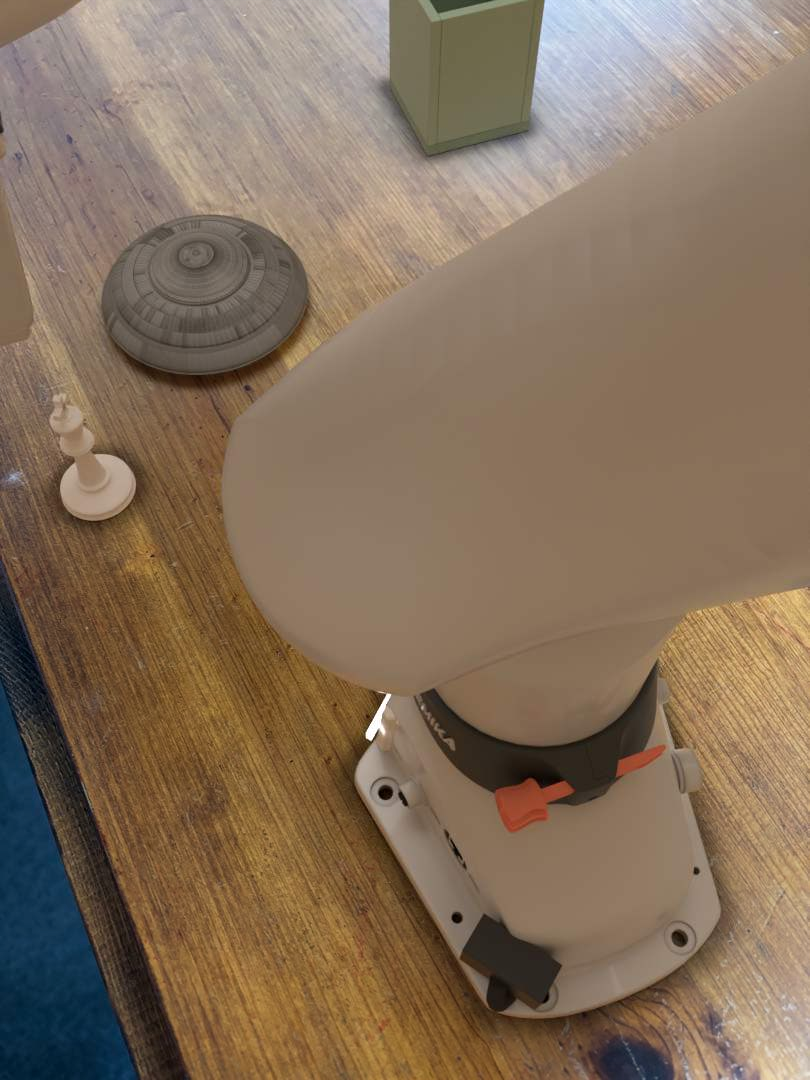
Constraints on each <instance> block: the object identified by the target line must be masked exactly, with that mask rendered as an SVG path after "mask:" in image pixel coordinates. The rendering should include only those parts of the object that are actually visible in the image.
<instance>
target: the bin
mask: <svg viewBox="0 0 810 1080" xmlns="http://www.w3.org/2000/svg"><path fill="white" fill-rule="evenodd" d="M545 2H546V0H388V13H389V14H388V21H389V22H388V23H389V24H388V28H389V30H388V32H389V33H388V37H389V39H388V42H389V44H388V45H389V89H390V91H391V93H392V95H393V96H394V98H395V100H396V102H397V104H398V105H399V107H400V109H401V111H402V113H403V114H404V116H405V118H406V121H407V123H408V124H409V126H410V128H411V130H412V131H413V133H414V135H415V136H416V139H417V140H418V141H419V143H420V145H421V147H422V150H423V151H424V152H425V154H426V156H427V157H431V156H433V155H438V154H443V153H445V152H446V153H447V152H450V151H454V150H457V149H462V148H465V147H469V146H472V145H476V144H481V143H485V142H489V141H493V140H496V139H501V138H503V137H509V136H512V135H515V134H516V135H517V134H519V133H524V132H527V131H529V128H530V127H529V126H530V119H531V110H532V104H533V103H532V102H533V94H534V86H535V79H536V71H537V64H538V55H539V49H540V41H541V40H540V39H541V32H542V25H543V17H544V9H545Z"/></svg>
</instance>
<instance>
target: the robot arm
mask: <svg viewBox="0 0 810 1080" xmlns="http://www.w3.org/2000/svg"><path fill="white" fill-rule="evenodd" d="M82 1H83V0H0V49H2V48H4V47H6V46H7V45H10V44H12V43H14V42H15V41H17V40H19V39H22V38H24V37H25V36H27V35H29V34H31V33H32V32H35V31H36V30H38V29H39V28H41V27H44V26H46V25H47V24H49V23H51V22H53V21H55V20H56V19H58V18H59V17H61V16H63V15H65V14H66V13H67V12H69V11H71V10H72V9H73V8H74V7H76V6H78V4H79V3H81V2H82ZM4 132H5V130H4V124H3V119H2V112H1V111H0V160H2V159H4V158H5V156H6V154H7V153H6V152H7V147H6V143H5V139H4V135H3V133H4ZM31 297H32V296H31V292H30V288H29V284H28V281H27V277H26V273H25V269H24V265H23V261H22V257H21V253H20V250H19V245H18V243H17V239H16V235H15V230H14V227H13V223H12V219H11V215H10V211H9V208H8V202H7V198H6V194H5V189H4V184H3V179H2V174H1V173H0V346H7V345H11V344H14V343H19V342H22V341H25V340H27V339H28V338H29V337H30V336H31V328H30V327H31V326H32V325H33V324H34V318H35V316H34V315H35V314H34V312H35V311H34V307H33V306H34V305H33V302H32V298H31ZM231 425H232V426H231V428H230V432H229V436H228V440H227V443H226V447H225V452H224V459H223V463H222V465H223V466H222V472H221V473H222V474H221V494H220V495H221V496H220V497H221V507H222V519H223V526H224V530H225V535H226V540H227V546H228V548H229V553H230V554H231V557H232V560H233V563H234V566H235V569H236V572H237V574H238V575H239V578H240V580H241V582H242V584H243V587H244V588H245V590H246V591H247V594H248V595H249V597H250V599H251V600H252V602H253V603H254V605H255V607H256V608H257V610H258V611H259V612H260V614H261V615H262V616H263V617H264V619H265V621H266V622H267V623H268V624H269V626H271V628H272V629H273V630H274V631H275V633H277V634H278V635H279V636H280V637H281V638H282V639H283V640H284V641H285V642H286V643H287V644H288V645H289V646H290V647H291V648H292V649H293V650H295V651H296V652H297V653H299V654H300V655H301V656H302V657H304V658H305V659H306V660H308V661H309V662H310V663H312V664H313V665H315V666H316V667H317V668H320V669H322V670H323V671H325V672H327V673H329V674H330V675H332V676H334V677H336V678H338V679H340V680H343V681H345V682H347V683H349V684H351V685H354V686H357V687H360V688H363V689H366V690H370V691H372V692H373V691H374V692H377V693H381V694H385V695H386V696H385V698H384V699H383V701H382V703H381V705H380V707H379V709H378V710H377V712H376V714H375V716H374V718H373V719H372V722H371V723H370V725H369V727H368V729H367V730H366V732H365V738H366V739H368V740H369V741H372V740H373V738H374V737H375V734H376V733H377V735H376V737H375V738H374V740H373V742H372V743H371V744H370V745H369V746H368V748H367V749H366V751H364V753H363V755H362V757H361V758H360V759H359V761H358V763H357V766H356V768H355V771H354V777H353V783H354V787H355V789H356V792H357V794H358V795H359V797H360V799H361V800H362V802H363V804H364V805H365V807H366V809H367V810H368V812H369V814H370V816H371V817H372V820H374V822H375V825H376V826H377V828H378V829H379V831H380V833H381V834H382V836H383V837H384V839H385V841H386V843H387V844H388V846H389V848H390V849H391V851H392V853H393V855H394V856H395V858H396V860H397V861H398V863H399V865H400V866H401V867H402V870H403V871H404V873H405V875H406V877H407V878H408V880H409V881H410V883H411V885H412V887H413V888H414V890H415V892H416V893H417V895H418V897H419V898H420V900H421V902H422V903H423V905H424V907H425V909H426V910H427V912H428V913H429V915H430V917H431V919H432V921H433V922H434V924H435V926H436V927H437V929H438V930H439V933H440V934H441V936H442V938H443V939H444V941H445V942H446V944H447V946H448V948H449V949H450V951H451V953H452V954H453V956H454V958H455V959H456V961H457V962H458V965H459V966H460V968H461V970H462V972H464V974H465V976H466V978H467V980H468V982H469V983H470V985H471V986H472V988H473V989H474V991H475V993H476V994H477V997H478V998H479V999H480V1000H481V1001H482V1003H483V1005H484V1006H485V1007H486V1008H487V1009H488V1010H490V1011H491V1012H493V1013H497V1014H501V1015H504V1016H509V1017H513V1018H519V1019H532V1020H537V1019H538V1020H539V1019H555V1018H562V1017H568V1016H573V1015H577V1014H581V1013H584V1012H589V1011H592V1010H595V1009H598V1008H601V1007H604V1006H607V1005H610V1004H612V1003H615V1002H617V1001H620V1000H623V999H626V998H628V997H629V996H632V995H634V994H636V993H638V992H641V991H642V990H645V989H646V988H649V987H651V986H652V985H654V984H656V983H657V982H659V981H661V980H663V979H665V978H666V977H668V976H669V975H671V974H672V973H674V972H675V971H676V970H677V969H679V968H680V967H682V966H683V965H684V964H685V963H687V961H689V960H690V959H691V958H692V957H693V956H694V955H695V954H697V952H698V951H699V950H700V948H702V946H703V945H704V944H705V942H706V941H707V940H708V938H709V937H710V936H711V934H712V933H713V931H714V929H715V927H716V926H717V924H718V922H719V920H720V918H721V913H722V907H721V903H720V899H719V894H718V891H717V886H716V883H715V880H714V878H713V874H712V870H711V867H710V863H709V860H708V856H707V854H706V850H705V847H704V846H705V845H704V843H703V839H702V836H701V833H700V829H699V826H698V823H697V819H696V816H695V811H694V809H693V805H692V801H691V797H690V795H689V793H694V792H698V791H699V790H700V789H702V788H703V783H704V777H703V771H702V766H701V762H700V760H699V757H698V755H697V753H696V752H695V751H694V749H692V748H689V747H682V748H676V746H675V744H674V740H673V736H672V734H671V729H670V726H669V722H668V719H667V716H666V713H665V709H664V706H663V705H665V704H668V703H669V702H670V701H671V690H670V685H669V683H668V681H667V680H666V679H665V677H660V673H661V672H660V666H661V665H660V656H661V654H662V652H663V650H664V648H665V646H666V645H667V643H668V641H669V639H670V638H671V636H672V635H673V633H674V632H675V630H676V629H677V627H678V626H679V624H680V623H682V621H683V619H684V618H685V617H686V616H687V615H688V614H690V613H694V612H700V611H703V610H708V609H713V608H718V607H722V606H726V605H732V604H735V603H741V602H745V601H749V600H755V599H758V598H763V597H766V596H772V595H777V594H783V593H787V592H792V591H797V590H802V589H806V588H807V589H808V588H810V48H808V49H806V50H805V51H802V53H800V54H798V55H796V56H794V57H793V58H791V59H790V60H788V61H787V62H785V63H784V64H782V65H780V66H778V67H777V68H775V69H774V70H772V71H770V72H768V73H766V74H765V75H763V76H762V77H760V78H758V79H757V80H755V81H753V82H752V83H750V84H748V85H746V86H744V87H743V88H741V89H739V90H738V91H736V92H734V93H733V94H731V95H729V96H727V97H725V98H724V99H722V100H720V101H719V102H717V103H715V104H714V105H712V106H710V107H708V108H707V109H705V110H703V111H701V112H700V113H698V114H696V115H694V116H693V117H691V118H690V119H688V120H686V121H684V122H683V123H681V124H679V125H678V126H675V127H674V128H673V129H671V130H669V131H668V132H666V133H664V134H662V135H660V136H659V137H657V138H656V139H654V140H652V141H650V142H649V143H647V144H645V145H643V146H641V147H640V148H639V149H637V150H635V151H633V152H632V153H630V154H628V155H627V156H624V157H623V158H621V159H620V160H618V161H616V162H615V163H612V164H611V165H609V166H607V167H605V168H604V169H602V170H600V171H598V172H596V174H594V175H592V176H590V177H589V178H586V179H585V180H583V181H582V182H580V183H579V184H576V185H574V186H573V187H572V188H570V189H569V190H567V191H564V192H563V193H561V194H559V195H558V196H555V198H552V199H550V200H549V201H547V202H546V203H544V204H543V205H540V206H539V207H537V208H536V209H534V210H532V211H531V212H529V213H527V214H526V215H524V216H522V217H520V218H519V219H516V220H515V221H514V222H512V223H510V224H508V225H506V226H505V227H504V228H501V229H500V230H499V231H496V232H494V233H493V234H491V235H490V236H488V237H487V238H485V239H483V240H481V241H480V242H477V243H476V244H475V245H473V246H471V247H469V248H468V249H466V250H464V251H462V252H460V253H459V254H457V255H456V256H454V257H452V258H451V259H449V260H447V261H445V262H444V263H441V264H440V265H439V266H437V267H435V268H434V269H432V270H430V271H428V272H427V273H424V274H423V275H422V276H420V277H418V278H416V279H414V280H413V281H411V282H410V283H408V284H406V285H404V286H403V287H401V288H400V289H397V290H396V291H394V292H392V293H390V294H389V295H388V296H386V297H384V298H383V299H381V300H379V301H378V302H376V303H374V304H373V305H371V306H370V307H368V308H366V309H365V310H363V311H361V312H360V313H359V314H357V315H356V316H355V317H354V318H353V319H351V320H350V321H349V322H347V323H346V324H345V325H343V326H342V327H341V328H340V329H338V330H337V331H335V333H333V334H332V335H331V336H329V337H328V338H326V339H325V340H324V341H323V342H322V343H320V344H319V345H318V346H317V347H316V348H314V349H313V350H312V351H311V352H309V354H307V355H306V356H305V357H304V358H302V359H301V360H300V361H299V362H297V363H296V364H295V365H294V366H293V367H291V369H289V370H288V371H287V372H286V373H284V375H283V376H281V377H280V378H279V379H278V380H276V382H274V384H272V385H271V386H270V387H269V388H268V389H266V390H265V392H263V393H262V394H261V395H259V396H258V398H257V399H255V400H254V401H253V402H252V403H251V404H250V405H249V406H248V407H246V409H244V410H243V411H242V412H241V413H240V414H239V415H238V416H237V417H236V418H235V420H234V421H233V423H232V424H231ZM385 789H387V790H390V791H391V793H392V796H391V797H390V798H389V799H382V798H381V797H380V795H379V793H380V792H381V791H382V790H385ZM454 916H459V918H461V922H458V923H456V922H454V920H453V917H454ZM673 933H679V934H680V935H681V936H682V937H683V939H684V945H683V946H678V945H676V944H675V943H674V941H673V938H672V937H673ZM546 997H547V1000H546V1002H544V1001H545V999H546Z"/></svg>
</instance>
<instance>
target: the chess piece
mask: <svg viewBox="0 0 810 1080" xmlns="http://www.w3.org/2000/svg"><path fill="white" fill-rule="evenodd" d="M69 400H70V397H69V395H68V393H65V392H63V393H61V392H59V394H58V395H57V394H55V395H54V394H53V397H52V400H51V402H52V405H53V406H54V409H53V411H52V413H51V415H49V416H50V417H49V420H48V421H49V427H50V428H51V429H52V430H53V431H54V432H55V433H56V434H58V435H59V436H60V438H59V445H58V446H59V448H60V450H61V452H62V453H63V454H64V455H67V456H70V457H73V459H74V463H72V464H71V465H70V466H69V467H68V468H67V469H66V471H64V474H63V475H62V476H61V477H62V478H61V481H60V484H59V493H60V497H61V502H62V504H63V506H64V508H65V509H66V511H67V512H69V513H70V514H71V515H72V516H74V517H75V518H78V519H81V520H83V521H89V522H90V521H91V522H97V521H104V520H107V519H110V518H112V517H115V516H116V515H119V514H120V513H121V512H122V511H124V510H125V509H126V508H127V507H128V506H129V504H130V503H131V502H132V500H133V499H134V496H135V494H136V489H137V481H136V477H135V475H134V472H133V471H132V469H131V468H130V467H129V465H128V464H127V463H126V462H125V461H124V460H123V459H121V458H119V457H117V456H115V455H112V454H107V453H95V454H94V453H93V451H92V448H93V447H94V444H95V435H94V434H93V432H92V431H91V430H90V429H88V428H87V427H84V421H85V418H84V413H83V412H82V410H81V409H80V408H78V407H77V406H75V405H71V404H68V402H69Z"/></svg>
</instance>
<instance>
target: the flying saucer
mask: <svg viewBox="0 0 810 1080" xmlns="http://www.w3.org/2000/svg"><path fill="white" fill-rule="evenodd" d="M308 299H309V281H308V277H307V273H306V269H305V267H304V265H303V263H302V260H301V259H300V257H299V256H298V254H297V253H296V252H295V250H293V248H292V247H291V246H290V245H289V244H288V243H286V241H285V240H284V239H282V238H281V237H280V236H278V235H277V234H276V233H275V232H273V231H271V230H270V229H267V228H266V227H264V226H262V225H260V224H258V223H255V222H253V221H250V220H248V219H245V218H241V217H236V216H232V215H226V214H225V215H224V214H209V213H208V214H207V213H206V214H195V215H188V216H183V217H179V218H175V219H172V220H169V221H166V222H164V223H162V224H160V225H157V226H155V227H153V228H151V229H149V230H148V231H146V232H145V233H143V234H142V235H140V236H139V237H137V238H136V239H135V240H134V241H132V242H131V243H130V244H129V245H128V246H127V247H126V248H125V249H124V250H123V251H122V253H121V254H120V255H119V256H118V257H117V259H116V260H115V262H114V263H113V264H112V266H111V268H110V270H109V272H108V273H107V276H106V279H105V281H104V285H103V288H102V292H101V303H100V304H101V305H100V306H101V314H102V319H103V322H104V325H105V327H106V329H107V331H108V333H109V335H110V337H111V338H112V339H113V341H114V342H115V344H116V345H118V346H119V348H120V349H122V350H123V351H124V352H125V353H126V354H127V355H129V356H130V357H132V358H133V359H135V360H136V361H139V362H140V363H141V364H144V365H146V366H148V367H150V368H153V369H156V370H159V371H163V372H167V373H170V374H171V373H173V374H178V375H188V376H203V375H214V374H220V373H221V374H222V373H226V372H230V371H235V370H237V369H240V368H243V367H246V366H248V365H251V364H253V363H254V362H255V363H256V361H257V362H258V361H259V360H261V359H263V358H264V357H266V356H267V355H269V354H270V353H272V352H273V351H275V350H276V349H278V348H279V347H280V346H281V345H282V344H283V343H285V341H286V340H287V339H289V337H290V336H291V335H292V334H293V332H294V331H295V330H296V328H297V327H298V325H299V324H300V322H301V320H302V317H303V316H304V313H305V310H306V307H307V305H308Z"/></svg>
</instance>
